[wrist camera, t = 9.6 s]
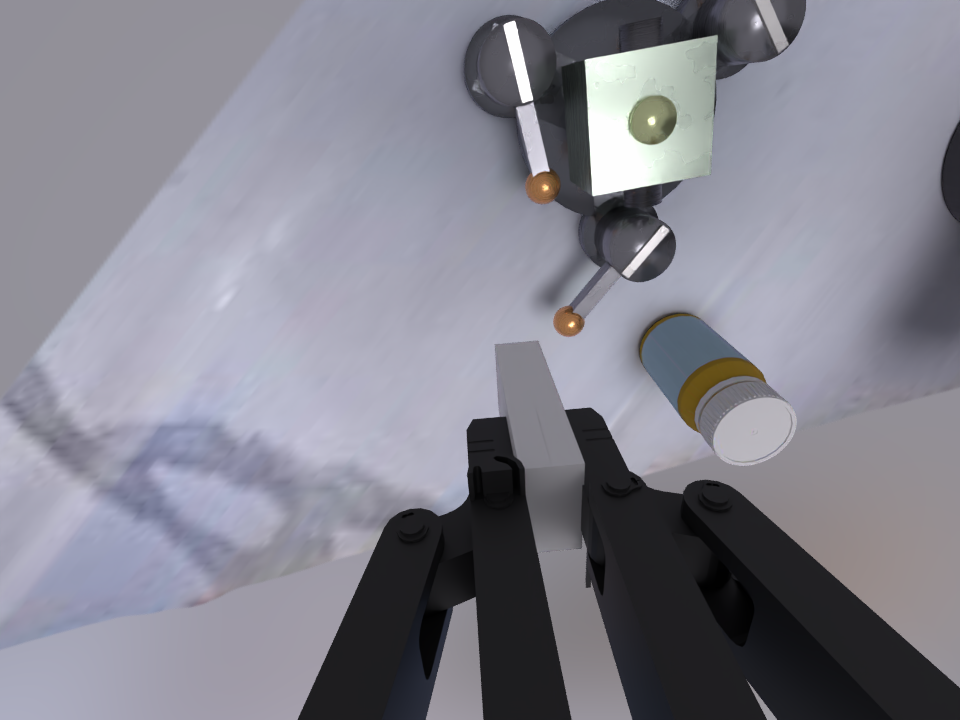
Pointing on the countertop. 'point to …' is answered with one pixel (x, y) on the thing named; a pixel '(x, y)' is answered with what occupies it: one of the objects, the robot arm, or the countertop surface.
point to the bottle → (717, 390)
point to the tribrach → (621, 106)
